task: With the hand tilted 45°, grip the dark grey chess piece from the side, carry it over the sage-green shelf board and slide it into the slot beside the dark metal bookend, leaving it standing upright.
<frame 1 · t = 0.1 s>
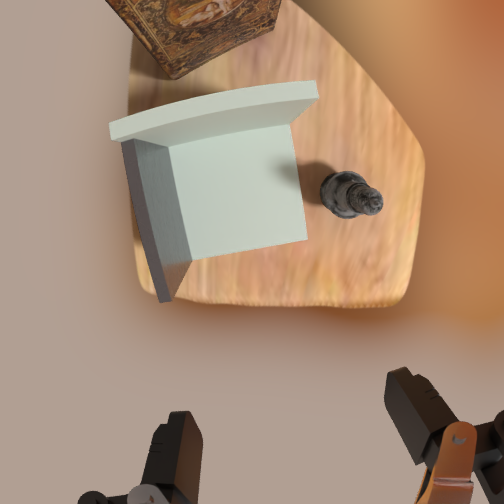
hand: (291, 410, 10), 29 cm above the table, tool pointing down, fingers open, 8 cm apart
book: (217, 38, 31), on the table
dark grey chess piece: (338, 192, 37), on the table
shelf: (233, 186, 36), on the table
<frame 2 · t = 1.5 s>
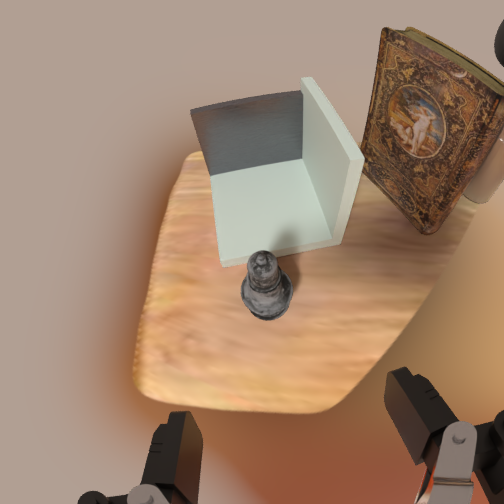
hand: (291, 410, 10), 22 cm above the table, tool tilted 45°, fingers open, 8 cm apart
book: (401, 194, 41), on the table
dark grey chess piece: (268, 300, 36), on the table
shelf: (271, 207, 42), on the table
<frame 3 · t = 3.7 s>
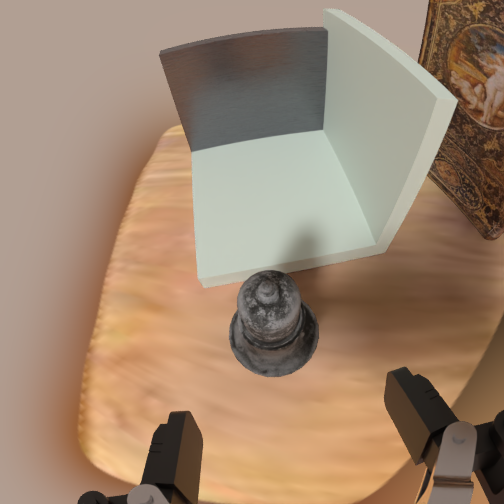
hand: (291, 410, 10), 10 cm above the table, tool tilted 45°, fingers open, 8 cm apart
book: (454, 184, 27), on the table
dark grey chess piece: (275, 342, 22), on the table
shelf: (279, 196, 28), on the table
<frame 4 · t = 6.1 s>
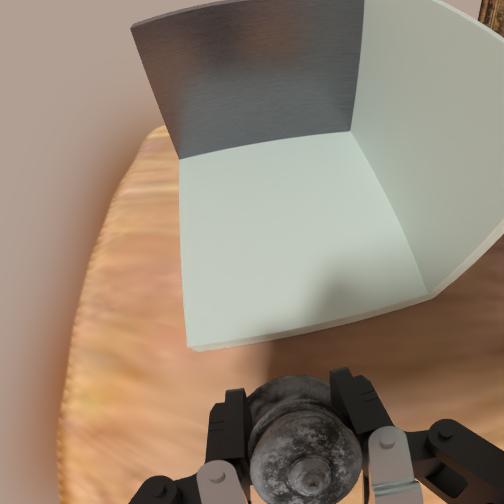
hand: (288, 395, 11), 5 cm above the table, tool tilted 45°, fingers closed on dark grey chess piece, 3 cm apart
book: (499, 203, 20), on the table
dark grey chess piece: (293, 425, 15), on the table, touching gripper
shelf: (296, 221, 21), on the table
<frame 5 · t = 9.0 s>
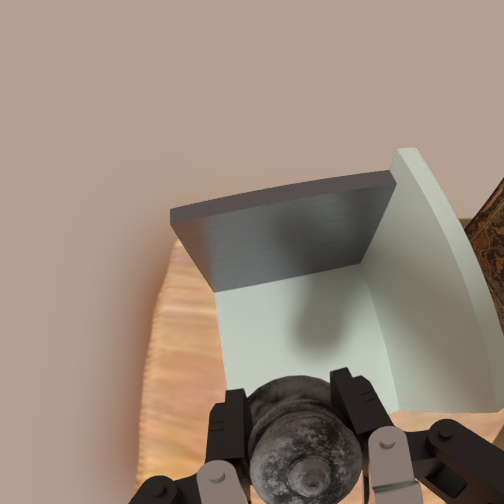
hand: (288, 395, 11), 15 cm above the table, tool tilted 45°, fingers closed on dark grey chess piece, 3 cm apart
book: (481, 308, 25), on the table
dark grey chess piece: (293, 425, 15), point 10 cm above the table, touching gripper
shelf: (311, 349, 26), on the table
when the fingers open (8 cm above the table, at t = 12.3 s): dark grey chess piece drops 1 cm, resting on shelf.
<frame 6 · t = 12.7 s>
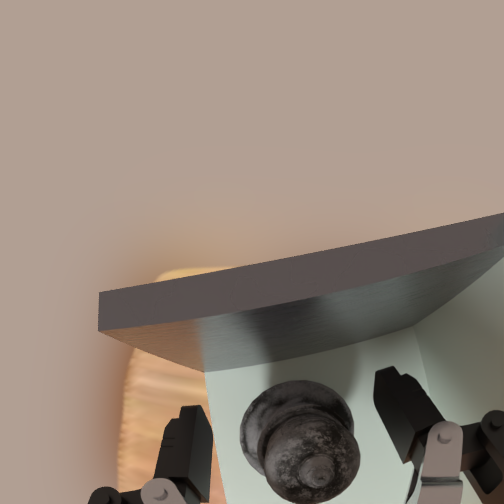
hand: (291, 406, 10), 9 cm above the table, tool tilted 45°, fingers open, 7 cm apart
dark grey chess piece: (293, 426, 16), point 2 cm above the table, touching shelf
shelf: (339, 443, 16), on the table
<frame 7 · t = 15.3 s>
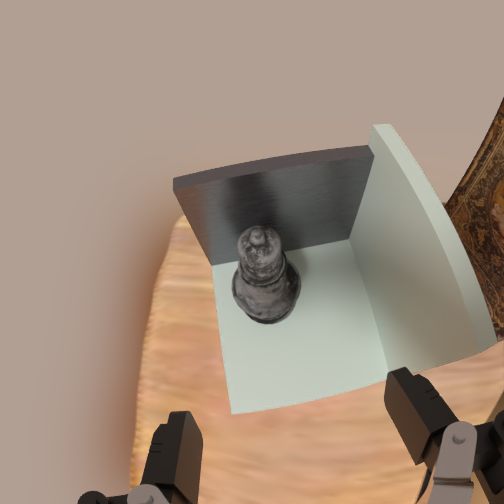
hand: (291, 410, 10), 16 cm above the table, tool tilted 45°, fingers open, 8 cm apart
book: (469, 286, 27), on the table
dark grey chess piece: (268, 298, 28), point 2 cm above the table, touching shelf
shelf: (302, 320, 28), on the table
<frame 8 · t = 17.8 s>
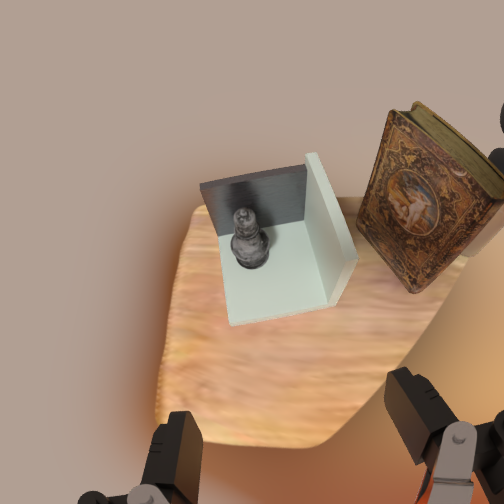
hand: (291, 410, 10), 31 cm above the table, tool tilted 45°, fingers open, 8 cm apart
book: (394, 253, 46), on the table
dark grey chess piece: (252, 254, 46), point 2 cm above the table, touching shelf
shelf: (274, 269, 47), on the table
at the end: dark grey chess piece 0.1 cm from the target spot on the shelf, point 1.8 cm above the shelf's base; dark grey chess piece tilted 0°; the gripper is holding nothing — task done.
